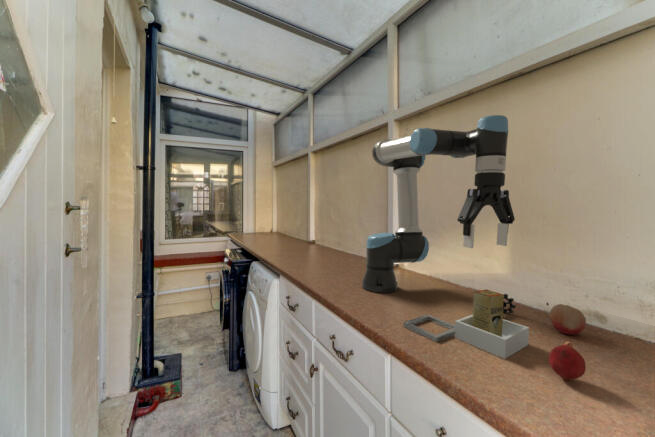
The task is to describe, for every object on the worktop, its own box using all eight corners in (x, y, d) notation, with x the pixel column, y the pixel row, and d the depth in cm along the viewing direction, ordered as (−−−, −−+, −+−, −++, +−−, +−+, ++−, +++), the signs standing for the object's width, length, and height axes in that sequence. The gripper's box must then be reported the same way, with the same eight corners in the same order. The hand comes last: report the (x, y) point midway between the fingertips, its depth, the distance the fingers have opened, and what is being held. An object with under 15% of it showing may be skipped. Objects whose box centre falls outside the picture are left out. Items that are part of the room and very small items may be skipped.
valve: (490, 322, 87) (515, 316, 92) (491, 301, 87) (516, 296, 92) (471, 314, 93) (496, 309, 98) (472, 295, 93) (497, 291, 98)
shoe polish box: (472, 334, 77) (473, 291, 76) (484, 331, 79) (486, 289, 78) (488, 343, 72) (490, 296, 72) (501, 339, 74) (503, 294, 74)
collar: (402, 326, 83) (403, 322, 83) (427, 318, 90) (427, 314, 89) (436, 342, 74) (436, 337, 74) (461, 331, 80) (461, 327, 80)
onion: (574, 392, 55) (576, 351, 54) (541, 375, 60) (543, 338, 59) (590, 384, 57) (593, 345, 56) (557, 369, 62) (559, 333, 62)
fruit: (593, 338, 77) (595, 309, 77) (568, 340, 76) (570, 311, 75) (564, 325, 85) (565, 299, 85) (541, 327, 84) (542, 300, 83)
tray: (454, 337, 76) (455, 320, 76) (479, 326, 83) (480, 311, 83) (504, 359, 66) (505, 339, 66) (528, 344, 73) (529, 327, 73)
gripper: (468, 169, 72) (464, 250, 74) (531, 173, 82) (526, 246, 83) (446, 171, 79) (442, 246, 81) (507, 175, 89) (502, 242, 90)
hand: (485, 246), depth 82 cm, fingers open, 13 cm apart
